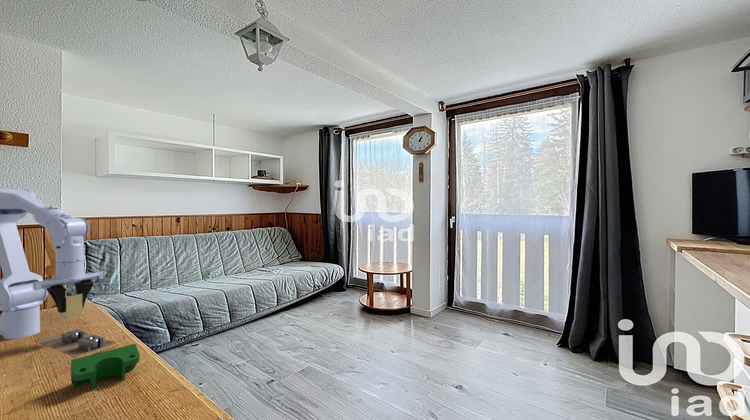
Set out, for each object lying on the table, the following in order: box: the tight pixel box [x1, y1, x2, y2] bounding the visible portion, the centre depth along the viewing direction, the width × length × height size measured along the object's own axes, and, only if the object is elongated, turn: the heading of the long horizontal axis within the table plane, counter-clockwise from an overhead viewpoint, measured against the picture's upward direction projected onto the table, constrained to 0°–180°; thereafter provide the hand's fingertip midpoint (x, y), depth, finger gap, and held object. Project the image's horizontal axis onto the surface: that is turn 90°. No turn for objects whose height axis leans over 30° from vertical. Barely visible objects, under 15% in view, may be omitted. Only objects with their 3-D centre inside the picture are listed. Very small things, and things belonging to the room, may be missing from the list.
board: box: [35, 331, 118, 358], centre depth 89 cm, size 22×9×1 cm, turn 65°
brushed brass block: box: [58, 290, 84, 320], centre depth 90 cm, size 4×4×7 cm
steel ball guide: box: [60, 328, 105, 353], centre depth 87 cm, size 14×3×2 cm, turn 65°
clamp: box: [70, 343, 141, 391], centre depth 71 cm, size 12×6×9 cm, turn 131°
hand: (71, 309), depth 90 cm, fingers closed on brushed brass block, 3 cm apart
